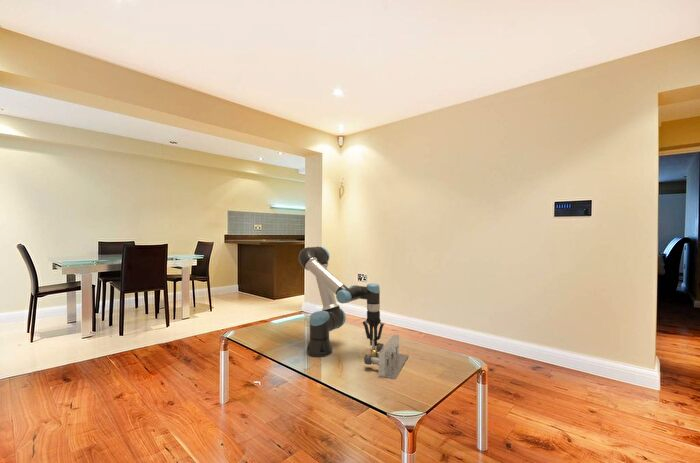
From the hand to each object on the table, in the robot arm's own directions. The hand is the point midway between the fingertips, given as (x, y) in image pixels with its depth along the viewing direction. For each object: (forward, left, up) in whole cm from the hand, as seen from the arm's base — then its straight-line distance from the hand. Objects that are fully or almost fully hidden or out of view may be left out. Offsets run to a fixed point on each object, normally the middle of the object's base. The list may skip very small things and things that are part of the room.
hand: (373, 351), depth 183 cm
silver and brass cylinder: (+7, -9, 0) cm, 11 cm away
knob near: (+7, -18, 0) cm, 19 cm away
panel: (+15, -9, -3) cm, 17 cm away
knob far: (+8, 0, 0) cm, 8 cm away
